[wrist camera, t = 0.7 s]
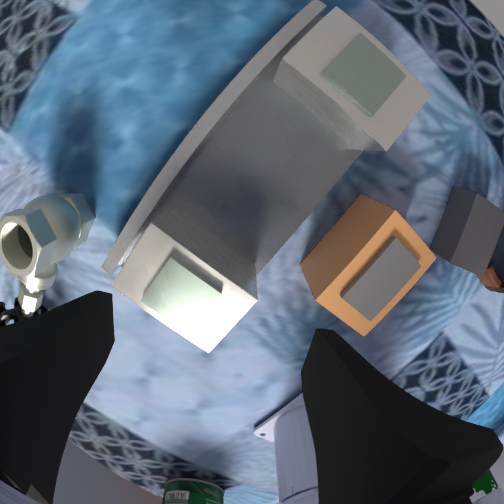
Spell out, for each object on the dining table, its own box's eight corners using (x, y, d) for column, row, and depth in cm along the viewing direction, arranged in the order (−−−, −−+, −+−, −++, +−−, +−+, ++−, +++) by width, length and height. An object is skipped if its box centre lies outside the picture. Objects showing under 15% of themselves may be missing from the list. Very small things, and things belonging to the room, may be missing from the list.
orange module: (398, 232, 19) (440, 260, 14) (340, 296, 20) (366, 340, 15) (360, 193, 18) (399, 211, 13) (299, 263, 20) (316, 303, 14)
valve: (52, 168, 17) (17, 293, 20) (-12, 182, 11) (-28, 331, 14) (122, 215, 18) (72, 336, 22) (70, 247, 12) (36, 385, 15)
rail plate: (402, 96, 16) (455, 84, 10) (210, 320, 21) (200, 377, 15) (307, 14, 14) (329, -31, 8) (116, 253, 19) (74, 291, 13)
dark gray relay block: (483, 205, 18) (507, 214, 16) (460, 262, 20) (482, 277, 17) (451, 185, 18) (477, 192, 15) (428, 247, 19) (450, 262, 17)
